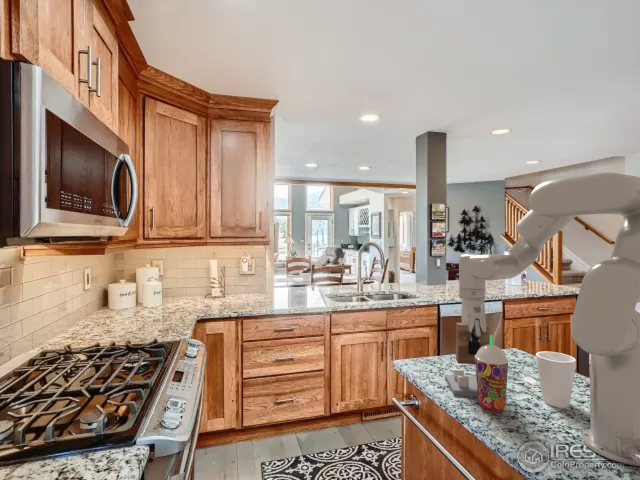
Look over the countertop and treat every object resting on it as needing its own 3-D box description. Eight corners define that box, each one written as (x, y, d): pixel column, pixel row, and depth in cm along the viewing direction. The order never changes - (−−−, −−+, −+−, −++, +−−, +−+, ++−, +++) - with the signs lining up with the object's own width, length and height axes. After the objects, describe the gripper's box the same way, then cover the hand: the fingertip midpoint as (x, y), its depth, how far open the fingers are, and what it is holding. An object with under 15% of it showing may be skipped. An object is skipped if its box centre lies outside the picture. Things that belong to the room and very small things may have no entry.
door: (490, 366, 106) (490, 326, 106) (459, 364, 107) (459, 325, 107) (485, 361, 110) (485, 323, 110) (456, 360, 111) (455, 322, 111)
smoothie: (489, 417, 91) (489, 340, 91) (468, 402, 99) (468, 332, 99) (516, 412, 94) (515, 338, 94) (492, 399, 102) (492, 330, 102)
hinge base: (503, 397, 102) (503, 382, 102) (453, 395, 104) (453, 380, 104) (489, 381, 114) (489, 367, 114) (445, 379, 116) (445, 365, 116)
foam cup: (568, 397, 103) (567, 352, 103) (582, 412, 94) (582, 363, 94) (531, 393, 105) (531, 350, 105) (542, 407, 96) (542, 360, 96)
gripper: (494, 298, 101) (494, 362, 101) (476, 290, 117) (477, 345, 117) (466, 297, 102) (466, 361, 102) (453, 289, 118) (453, 344, 118)
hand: (472, 352), depth 109 cm, fingers closed on door, 3 cm apart
